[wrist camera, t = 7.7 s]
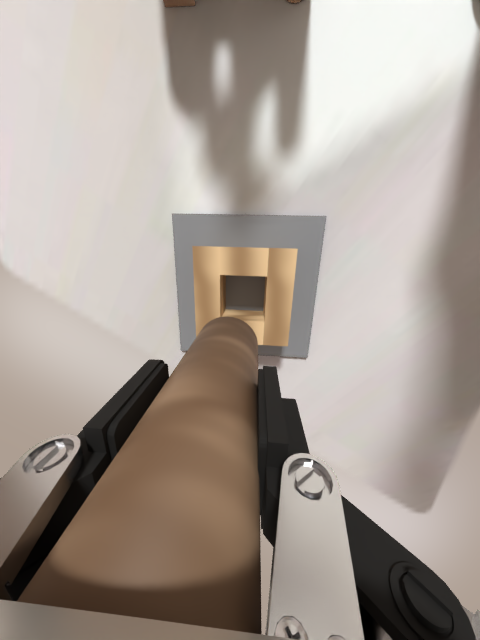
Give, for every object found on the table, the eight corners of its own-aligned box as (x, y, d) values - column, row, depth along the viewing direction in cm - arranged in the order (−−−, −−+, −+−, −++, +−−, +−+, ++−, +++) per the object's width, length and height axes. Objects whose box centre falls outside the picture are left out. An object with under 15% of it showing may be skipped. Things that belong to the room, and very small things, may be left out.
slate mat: (325, 216, 28) (326, 216, 28) (306, 356, 35) (307, 357, 34) (173, 214, 30) (172, 213, 29) (182, 349, 36) (181, 350, 35)
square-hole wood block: (291, 248, 29) (297, 248, 25) (283, 332, 33) (287, 346, 28) (202, 246, 30) (192, 245, 25) (204, 328, 34) (196, 341, 29)
